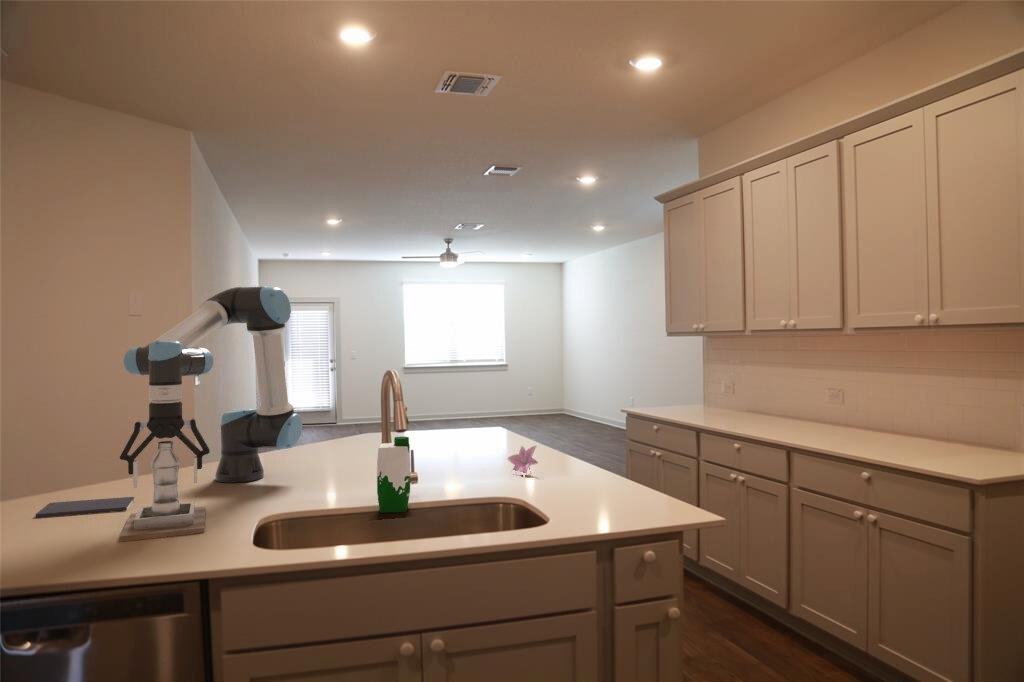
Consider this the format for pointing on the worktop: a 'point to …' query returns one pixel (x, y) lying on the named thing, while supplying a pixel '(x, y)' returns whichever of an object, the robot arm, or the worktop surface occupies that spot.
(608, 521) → the worktop surface
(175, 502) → the plastic bottle
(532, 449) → the lily
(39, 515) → the notebook
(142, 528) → the bottle stand
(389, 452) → the milk carton
